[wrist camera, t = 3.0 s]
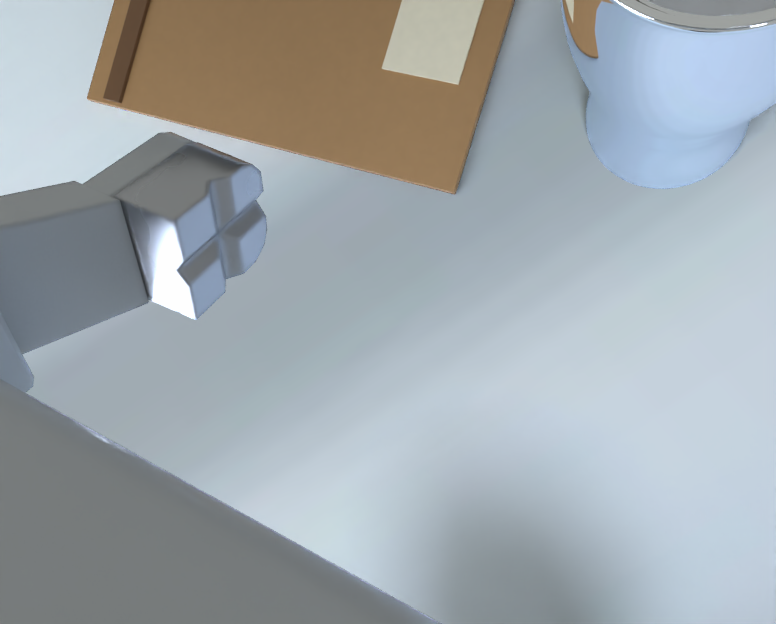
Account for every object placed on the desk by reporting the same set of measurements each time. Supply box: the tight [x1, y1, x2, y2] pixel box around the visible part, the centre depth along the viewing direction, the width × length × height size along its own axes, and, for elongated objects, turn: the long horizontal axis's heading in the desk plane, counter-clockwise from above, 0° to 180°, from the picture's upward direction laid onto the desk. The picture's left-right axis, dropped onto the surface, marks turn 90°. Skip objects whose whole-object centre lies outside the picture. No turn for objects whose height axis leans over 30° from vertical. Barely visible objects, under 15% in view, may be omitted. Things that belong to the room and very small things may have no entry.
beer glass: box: [561, 0, 776, 189], centre depth 20 cm, size 7×7×15 cm
